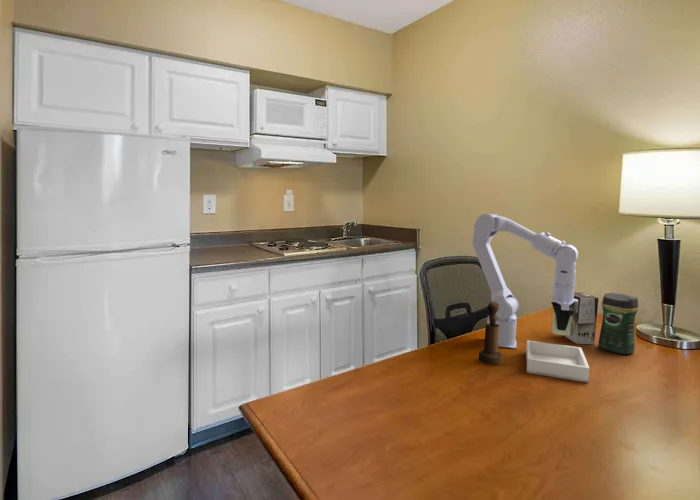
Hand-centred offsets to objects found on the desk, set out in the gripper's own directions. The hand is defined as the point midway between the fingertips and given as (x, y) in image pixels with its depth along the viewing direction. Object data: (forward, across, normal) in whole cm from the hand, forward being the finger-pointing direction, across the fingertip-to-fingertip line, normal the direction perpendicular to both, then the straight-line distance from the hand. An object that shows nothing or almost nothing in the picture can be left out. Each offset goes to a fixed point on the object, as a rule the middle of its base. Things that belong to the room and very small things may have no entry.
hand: (560, 327), depth 128 cm
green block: (+2, 0, 0) cm, 2 cm away
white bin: (+9, -10, +2) cm, 14 cm away
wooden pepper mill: (+9, -14, +20) cm, 26 cm away
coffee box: (+9, +20, -8) cm, 23 cm away
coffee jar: (+9, +13, -18) cm, 24 cm away
